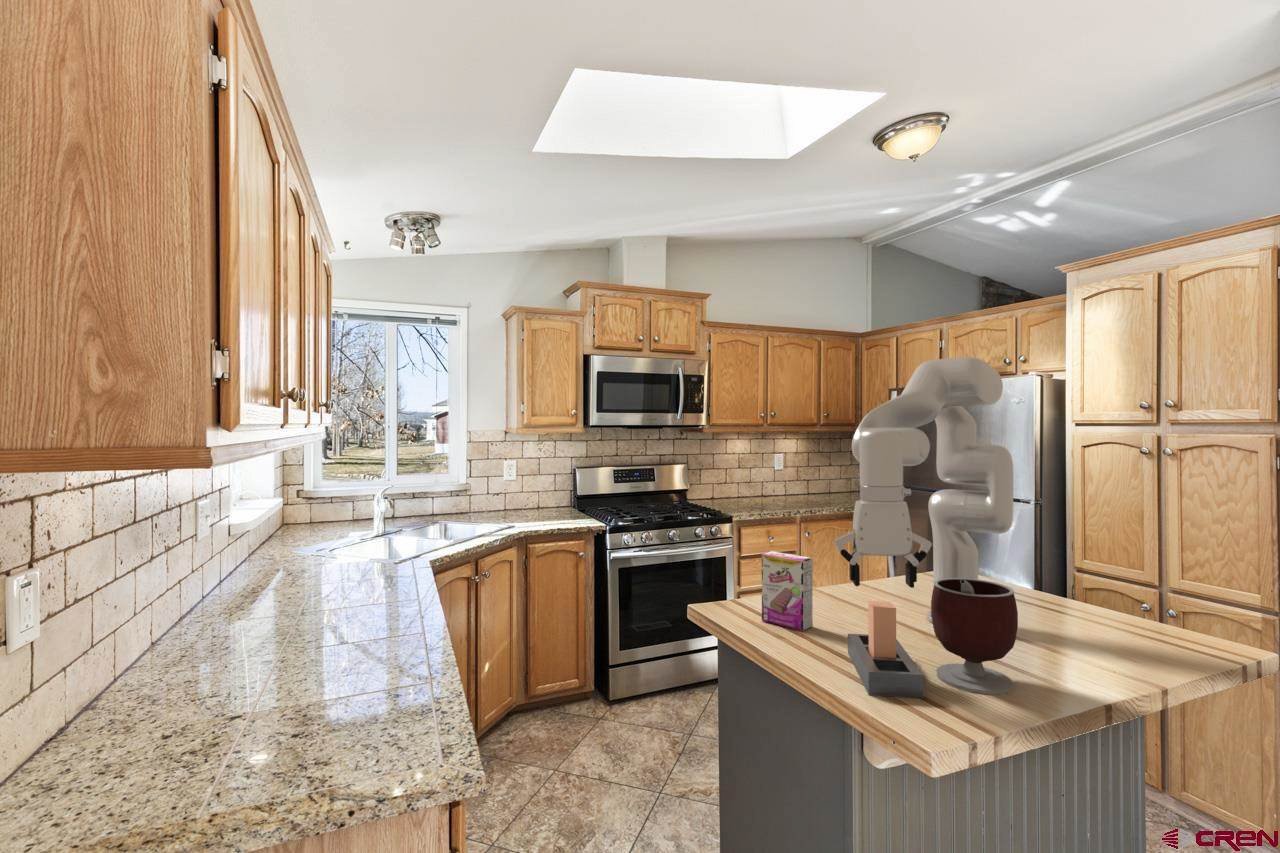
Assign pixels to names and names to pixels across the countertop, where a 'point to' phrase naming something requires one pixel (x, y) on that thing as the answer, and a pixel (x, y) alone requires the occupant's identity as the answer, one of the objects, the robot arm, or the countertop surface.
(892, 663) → the rail
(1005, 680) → the mate gourd
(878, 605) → the square peg
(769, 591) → the candy bar box
